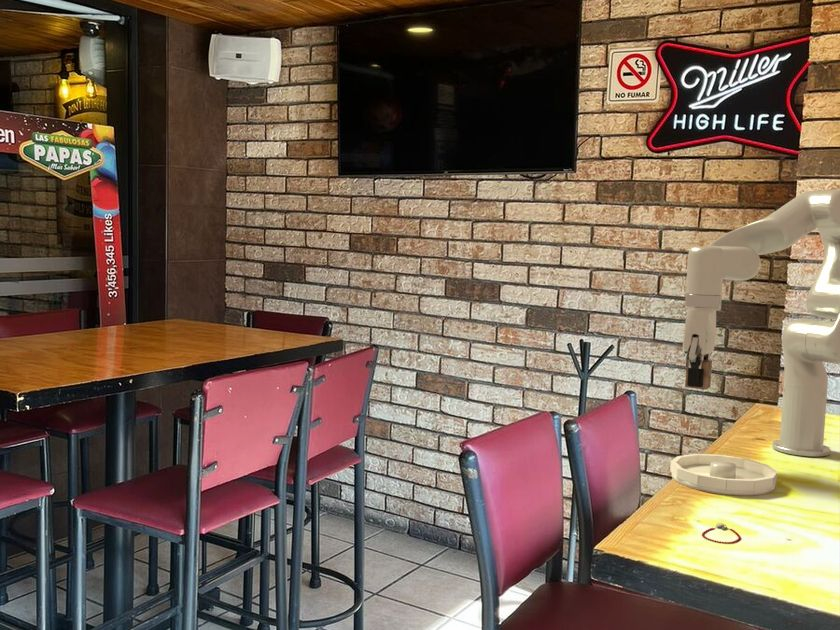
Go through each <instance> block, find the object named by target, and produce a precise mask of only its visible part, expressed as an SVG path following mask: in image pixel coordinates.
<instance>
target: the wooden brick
mask: <svg viewBox="0 0 840 630" xmlns="http://www.w3.org/2000/svg"><path fill="white" fill-rule="evenodd" d="M699 361H700V359H699ZM685 367H686V368H685V379H684V383H685V384H684V387H685V388H688V389H695V390H697V389H698V390H705V391H706V390H708V389H710V388H711V381H712V367H713V360H711V359H710V360H703V367H702V369H704V376H703V386H702V387H693V386H688V385H687V382H688V368H689V359H687V360H686V366H685Z"/></svg>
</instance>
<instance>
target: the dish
mask: <svg viewBox="0 0 840 630" xmlns="http://www.w3.org/2000/svg"><path fill="white" fill-rule="evenodd" d="M669 466H670V467H669V468H670V469H669V472H671V478H672V479H673V480H674V481H675V482H677V483H678V484H680V485H683V486H685V487H687V488H691V489H694V490H698V491H702V492H706V493H710V494H716V495H717V494H719V495H726V496H727V495H729V496H739V495H740V496H743V497H744V496H751V497H753V496H760V495H761V496H762V495H765V494H766V495H767V494H770V493H773V491H775V489H776V484H777V482H778V473H779V472H778V471H777V470H776V469H774V468H772V467H771V466H770V465H768V464H767V463H763V462H759V461H757V460H753V459H749V458H745V457H738V456H732V455H725V454H714V453H713V454H712V453H710V454H709V453H708V454H707V453H692V454H685V455H683V454H682V455H677V456H676V457H674V458H673V459H672V460H670V465H669ZM740 496H739V497H740Z"/></svg>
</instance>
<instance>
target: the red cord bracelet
mask: <svg viewBox="0 0 840 630" xmlns="http://www.w3.org/2000/svg"><path fill="white" fill-rule="evenodd" d="M716 528H717V529H721V530H722V531H726V530H729V531H730V532H732V533H734V534H735V535H736V536H737V537H738V538H737V539H736V540H732V541H721V540H720V541H719V540H714V539H712V538H709V537H707V536H705V535H706V534H707V533H709V532H710V531H713V530H716ZM701 537H702V538H704V539H705V540H706V541H710V542H712V543H716V544H717V543H718V544H725V545H729V544H730V545H731V544H736V543H738V542H740V541H741V540H742V537H741V535H740V534H739V533H738V532H737V531H736V530H734V529H733V528H729V527H727V525H726V524H724V523H720V522H717V524H716V527H712V528H711V527H710V528H708V529H706V530H705V531H703V532H702V534H701Z"/></svg>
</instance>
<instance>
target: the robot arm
mask: <svg viewBox="0 0 840 630" xmlns="http://www.w3.org/2000/svg"><path fill="white" fill-rule="evenodd" d="M816 229H817V231H818V234H819V236H820V239H821V242H822V245H823V251H824V255H823V261H822V263H821V265H820V267H819V270H818V273H816V275H815V278H814V281H813V283H812V285H811V287H810V289H809V292H808V293H807V296H806V301H805V307H806V309H807V311H808V312H809V313H810V314H811V315H814V316H815V317H818V318H823V319H815V318H806V317H803V318H796V319H794V320H791V321H790V322H789V323H787V324H786V326H785V327H784V329H783V331H782V334H781V347H782V353H783V361H784V362H783V363H784V366H783V367H784V371H783V373H784V374H783V387H782V391H783V392H782V403H781V416H780V417H781V418H780V431H779V432H780V433H779V439H777V440H775V441H772V448H773V450H775V451H778V452H780V453H781V452H782V453H784V454H788V455H793V456H802V457H813V458H815V457H817V458H819V457H826V456H829V455H830V454H831V449H830V447H829V446H827V445H825V444H824V441H825V440H824V438H825V427H826V426H825V425H826V414H827V413H826V412H827V411H826V410H827V401H828V400H827V398H828V397H827V395H828V388H829V387H828V386H829V377H828V372H827V368H826V366H825V364H824V363H830V364H835V365H840V189H825V190H824V189H823V190H821V189H820V190H810V191H805V192H802V193H800V194H799V195H797V196H796V197H793V198H792V199H791V200H790V201H788V202H786V203H785V204H784V205H782V206H781V207H780V208H778V209H776V210H775V211H773V212H772V213H770V214H769V215H766V216H765V217H764V218H761V219H758V220H756V221H753V222H751V223H749V224H746V225H744V226H742V227H739V228H736V229H733V230H731V231H729V232H727V233H724V234H723V235H721V236H720V237H718V238H716V239H715V240H714V241H712V242H711V243H709V244H708V245H707V246H706V245H704V246H702V245H699V246H698V245H697V246H692V247H691V248H690V249H689V250H688V255H687V267H686V269H687V270H686V271H687V272H686V285H685V299H684V300H685V301H684V302H685V303H684V309H685V310H687V311H686V316H685V323H684V329H683V331H684V332H683V341H682V352H683V354H687V355H688V358H689V359H688V360H689V368H688V382H687V385H688V386H693V387H702V386H703V376H704V369H702V367H703V360H711V359H710V357H711V353H712V352H714V350H715V347H716V333H717V332H716V331H717V311H718V312H719V311H721V310H722V300H723V299H722V298H723V294H722V293H723V284H724V283H723V282H724V280H727V281H739V282H743V281H748V280H750V279H752V278H754V277H755V276H756V275H758V273H759V271H760V269H761V265H762V262H761V258H760V255H767V254H771V253H776V252H780V251H783V250H786V249H788V248H790V247H791V246H793V245H794V244H796V243H797V242H799V241H801V240H802V238H805V236H807V235H809V234H810V233H811V232H813V231H814V230H816ZM825 319H830V320H825ZM832 320H835V321H832ZM699 359H700V361H699Z"/></svg>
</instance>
